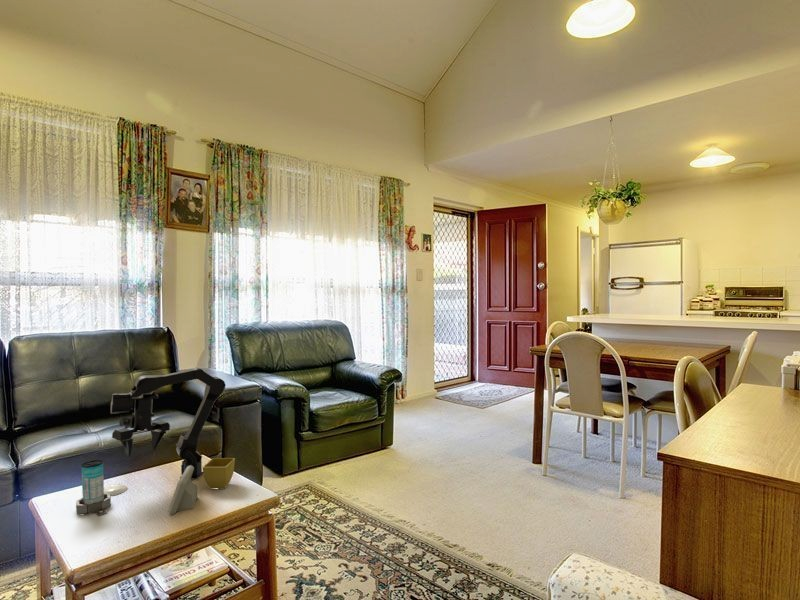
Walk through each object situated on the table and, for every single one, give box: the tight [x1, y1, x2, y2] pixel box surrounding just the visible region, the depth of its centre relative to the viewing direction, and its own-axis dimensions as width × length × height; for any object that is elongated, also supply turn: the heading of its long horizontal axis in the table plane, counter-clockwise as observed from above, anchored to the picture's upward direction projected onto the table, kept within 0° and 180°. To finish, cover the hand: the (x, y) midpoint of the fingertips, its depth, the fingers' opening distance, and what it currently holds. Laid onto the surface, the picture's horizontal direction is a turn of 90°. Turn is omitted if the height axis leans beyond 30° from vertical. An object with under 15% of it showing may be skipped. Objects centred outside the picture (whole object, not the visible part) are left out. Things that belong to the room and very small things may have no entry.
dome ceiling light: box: [104, 483, 128, 497], centre depth 170 cm, size 9×9×1 cm
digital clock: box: [167, 465, 199, 515], centre depth 158 cm, size 16×9×11 cm, turn 2°
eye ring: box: [75, 493, 112, 517], centre depth 156 cm, size 15×10×3 cm
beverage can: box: [81, 459, 105, 505], centre depth 156 cm, size 6×6×15 cm
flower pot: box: [202, 457, 236, 489], centre depth 172 cm, size 9×9×9 cm
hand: (141, 453), depth 172 cm, fingers open, 9 cm apart
